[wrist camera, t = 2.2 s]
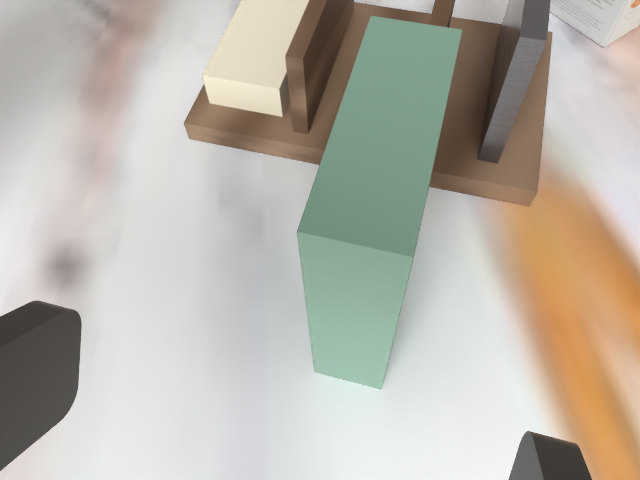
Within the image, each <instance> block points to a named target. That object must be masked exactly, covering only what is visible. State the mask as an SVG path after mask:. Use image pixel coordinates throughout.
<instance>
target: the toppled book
mask: <svg viewBox="0 0 640 480" xmlns="http://www.w3.org/2000/svg"><path fill="white" fill-rule="evenodd" d="M308 2H309V0H241V2H240V4H239V6H238V8H237V10H236V11H235V13H234V15H233V17H232V19H231V21H230V23H229V25H228V27H227V29H226V30H225V32H224V34H223V36H222V38H221V40H220V42H219V44H218V46H217V48H216V49H215V51H214V53H213V55H212V57H211V59H210V61H209V63H208V65H207V66H206V68H205V70H204V72H203V74H202V78H203V81H204V85H205V88H206V92H207V96H208V99H209V103H211V104H216V105H221V106H227V107H232V108H237V109H243V110H248V111H253V112H259V113H264V114H269V115H275V116H280V117H283V115H284V112H285V110H286V108H287V105H288V103H289V100H290V97H289V88H288V78H287V69H286V60H285V55H286V53H287V50H288V48H289V46H290V43H291V41H292V39H293V36H294V34H295V32H296V30H297V27H298V25H299V23H300V20H301V18H302V16H303V13H304V11H305V9H306V7H307V4H308Z"/></svg>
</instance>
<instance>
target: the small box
mask: <svg viewBox="0 0 640 480" xmlns="http://www.w3.org/2000/svg"><path fill="white" fill-rule="evenodd" d="M550 12H551V13H552V14H554V15H555V16H557V17H558V18H560V19H561V20H563V21H564V22H566V23H567V24H569V25H570V26H572V27H573V28H575V29H576V30H578V31H579V32H580V33H582V34H583V35H585V36H586V37H588V38H589V39H591V40H593V41H594V42H596V43H597V44H599V45H600V46H602V47H606V46H608V45H609V44H611V43H612V42H614V41H615V40H617V39H619V38H620V37H622V36H623V35H625V34H626V33H628V32H630V31H631V30H633V29H634V28H636V27H637V26H639V25H640V0H551V2H550Z"/></svg>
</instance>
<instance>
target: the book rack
mask: <svg viewBox="0 0 640 480" xmlns="http://www.w3.org/2000/svg"><path fill="white" fill-rule="evenodd" d="M454 3H455V0H435V3H434V7H433V11H432V14H428V13H421V12H415V11H408V10H401V9H395V8H388V7H381V6H374V5H368V4H361V3H354V0H309V2H308V4H307V7H306V9H305V11H304V13H303V16H302V18H301V20H300V23H299V25H298V27H297V30H296V32H295V34H294V36H293V39H292V41H291V43H290V46H289V48H288V50H287V53H286V55H285V60H286V69H287V78H288V88H289V97H290V100H289V103H288V105H287V108H286V110H285V112H284V115H283V117H280V116H275V115H269V114H264V113H259V112H253V111H248V110H243V109H237V108H232V107H227V106H221V105H216V104H211V103H209V99H208V96H207V92H206V88H205V85H203V87H202V89H201V91H200V93H199V95H198V97H197V99H196V101H195V102H194V104H193V106H192V108H191V110H190V112H189V114H188V116H187V118H186V120H185V122H184V125H185V128H186V131H187V134H188V136H189V139H194V140H199V141H204V142H209V143H214V144H219V145H224V146H229V147H234V148H239V149H244V150H249V151H254V152H259V153H264V154H269V155H274V156H279V157H284V158H289V159H294V160H299V161H304V162H309V163H314V164H319V165H320V163H321V160H322V157H323V154H324V151H325V148H326V145H327V143H328V140H329V137H330V134H331V131H332V128H333V125H334V122H335V119H336V116H337V113H338V110H339V107H340V104H341V102H342V99H343V96H344V93H345V90H346V87H347V84H348V81H349V78H350V75H351V72H352V69H353V66H354V64H355V61H356V58H357V55H358V52H359V49H360V46H361V43H362V40H363V37H364V34H365V31H366V28H367V25H368V23H369V20H370V17H371V16H376V17H383V18H389V19H396V20H402V21H409V22H416V23H422V24H429V25H435V26H442V27H448V28H455V29H461V30H462V34H461V38H460V43H459V48H458V52H457V57H456V62H455V66H454V71H453V76H452V80H451V85H450V90H449V94H448V99H447V104H446V108H445V113H444V118H443V122H442V127H441V132H440V136H439V141H438V146H437V150H436V155H435V160H434V164H433V169H432V173H431V178H430V183H429V186H430V187H435V188H440V189H445V190H450V191H455V192H460V193H465V194H470V195H475V196H480V197H485V198H490V199H495V200H500V201H505V202H510V203H515V204H520V205H525V206H530V204H531V203H532V201H533V199H534V197H535V195H536V193H537V189H538V178H539V168H540V157H541V147H542V137H543V126H544V116H545V105H546V95H547V84H548V74H549V63H550V53H551V42H552V32H548V31H547V41H546V44H545V46H544V49H543V51H542V54H541V56H540V59H539V61H538V64H537V66H536V69H535V71H534V74H533V76H532V79H531V81H530V84H529V86H528V89H527V91H526V94H525V96H524V99H523V102H522V104H521V107H520V109H519V112H518V114H517V117H516V119H515V122H514V124H513V127H512V129H511V132H510V134H509V137H508V139H507V142H506V144H505V147H504V149H503V152H502V154H501V157H500V160H499V162H498V164H496V163H491V162H486V161H480V160H478V154H479V148H480V142H481V136H482V130H483V124H484V118H485V112H486V106H487V100H488V94H489V88H490V82H491V76H492V70H493V64H494V58H495V52H496V46H497V40H498V36H499V32H500V29H501V26H502V25H501V24H495V23H488V22H481V21H475V20H468V19H461V18H455V17H452V13H453V8H454Z"/></svg>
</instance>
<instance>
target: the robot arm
mask: <svg viewBox="0 0 640 480" xmlns="http://www.w3.org/2000/svg"><path fill="white" fill-rule="evenodd" d="M80 343H81V318H80V315H79V313H78V312H77V311H75V310H72V309H68V308H64V307H61V306H57V305H53V304H49V303H46V302H42V301H32V302H30V303H28V304H26V305H24V306H22V307H19V308H17V309H15V310H13V311H11V312H9V313H7V314H5V315H3V316H1V317H0V471H1V470H2V469H3V468H4V467H6V466H7V465H8V464H9V463H10V462H12V461H13V460H14V459H15V458H16V457H18V456H19V455H20V454H21V453H22V452H24V451H25V450H26V449H27V448H28V447H30V446H31V445H32V444H33V443H34V442H36V441H37V440H38V439H39V438H40V437H42V436H43V435H44V434H45V433H46V432H48V431H49V430H50V429H51V428H52V427H54V426H55V425H56V424H57V423H59V422H60V421H61V420H62V419H63V418H64V417H65V416H66V414H67V413H68V411H69V410H70V408H71V406H72V404H73V402H74V400H75V397H76V394H77V390H78V379H79V361H80ZM509 480H592V479H591V476H590V473H589V471H588V468H587V466H586V463H585V461H584V458H583V456H582V453H581V451H580V448H579V446H578V445H577V444H575V443H572V442H568V441H564V440H560V439H556V438H553V437H549V436H545V435H541V434H537V433H534V432H530V431H527V432H526V433H525V434H524V436H523V437H522V440H521V442H520V445H519V448H518V451H517V455H516V458H515V461H514V464H513V467H512V471H511V474H510V477H509Z"/></svg>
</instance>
